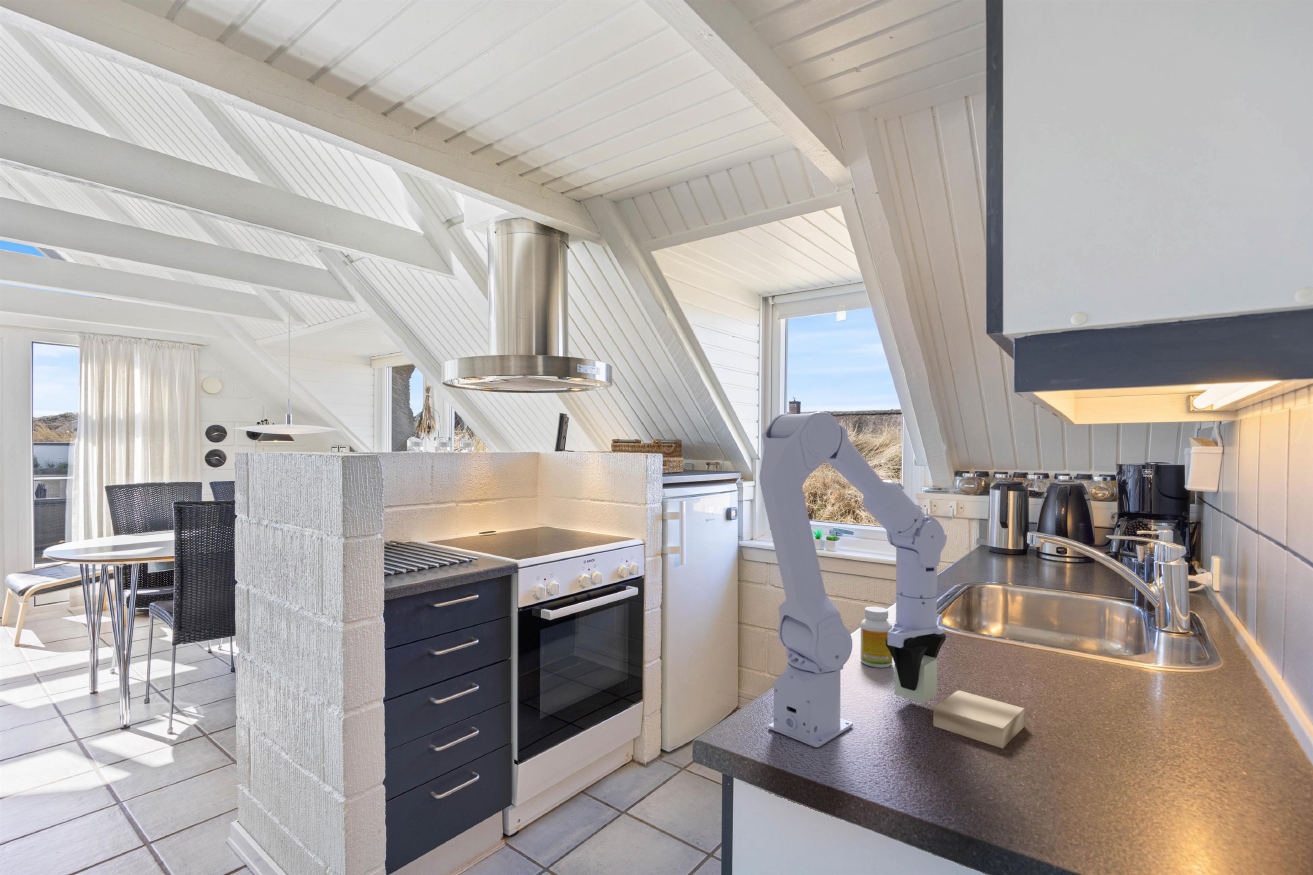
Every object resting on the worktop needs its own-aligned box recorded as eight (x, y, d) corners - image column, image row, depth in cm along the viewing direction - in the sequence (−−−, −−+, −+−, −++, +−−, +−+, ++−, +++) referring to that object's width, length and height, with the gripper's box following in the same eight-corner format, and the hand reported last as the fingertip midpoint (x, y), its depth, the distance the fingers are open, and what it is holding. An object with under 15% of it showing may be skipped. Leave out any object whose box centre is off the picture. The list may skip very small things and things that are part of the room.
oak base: (1002, 751, 84) (1002, 728, 84) (933, 728, 90) (933, 707, 90) (1024, 729, 90) (1024, 708, 90) (958, 709, 96) (958, 689, 96)
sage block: (924, 703, 93) (924, 665, 93) (894, 694, 96) (894, 657, 96) (937, 694, 96) (937, 658, 96) (908, 686, 100) (908, 651, 100)
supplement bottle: (896, 668, 112) (896, 613, 112) (865, 668, 112) (866, 613, 112) (886, 657, 117) (886, 605, 117) (856, 657, 118) (857, 605, 117)
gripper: (921, 607, 88) (921, 705, 88) (962, 590, 98) (962, 678, 98) (874, 598, 93) (873, 690, 94) (917, 582, 104) (916, 666, 104)
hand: (915, 683), depth 96 cm, fingers closed on sage block, 4 cm apart
